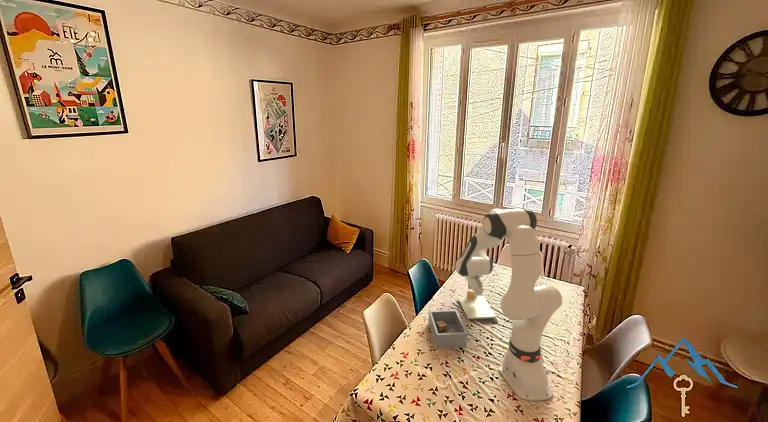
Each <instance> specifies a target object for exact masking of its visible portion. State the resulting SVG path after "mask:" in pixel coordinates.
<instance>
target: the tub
mask: <svg viewBox="0 0 768 422" xmlns="http://www.w3.org/2000/svg"><path fill="white" fill-rule="evenodd" d="M442 320H443V321H444V322H445V323H446V324H447V331H449V330H452V329H455V330H456V331H457V332H458V333H447V332H444V333H440V334H439V333H438V331H437V328H436V322H438V321H442ZM428 326H429V329H430V332H431V335H432V339H433V342H434V345H435V349H441V348H443V349H444V348H461V347H463V348H464V347H467V341H468V332H467V330H466V327H465V325H464V323H463V321H462V319H461V317H460V314H459V312H458V310H457V309H447V310H429V312H428Z"/></svg>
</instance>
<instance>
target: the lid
mask: <svg viewBox="0 0 768 422" xmlns="http://www.w3.org/2000/svg"><path fill="white" fill-rule="evenodd" d="M473 295H474V291H473V290H467V291H466V296H461V297H460V296H458V298H457V301H459V302H460V304H461V306H462V307H461V306H460V307H461V308H462V310H463V312H464V314H465V315H466V318H467V319H468V320H476V319H487V318H496V319H497V316H496V314H495V312H494V311H493V310H492V308H491V306H490V305H489V302H488V301H487V299H486V298H485V296H484V295H483V296H482V295H478V296H477V299H474V297H473Z"/></svg>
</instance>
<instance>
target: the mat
mask: <svg viewBox="0 0 768 422" xmlns="http://www.w3.org/2000/svg"><path fill="white" fill-rule="evenodd" d="M456 303H457V304H458V305H459V306H460V307H461V308H462V306H461V304H460V302H459V300H456ZM475 320H476V321H477V322H478V323H479V324H493V323H494V324H495V323H499V320H498V319H497V317H496V318H487V319H475Z"/></svg>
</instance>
